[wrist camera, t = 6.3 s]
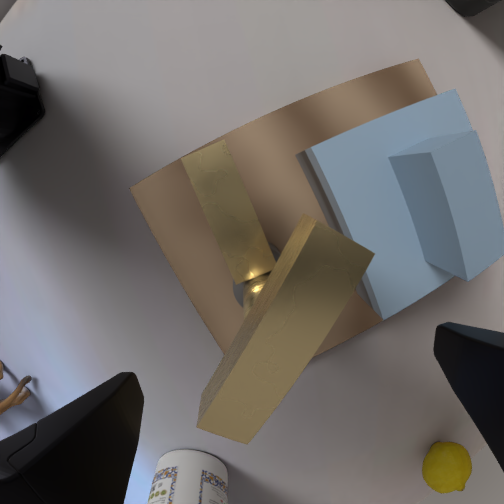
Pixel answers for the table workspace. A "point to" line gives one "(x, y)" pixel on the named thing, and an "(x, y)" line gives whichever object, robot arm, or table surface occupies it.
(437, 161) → the lid
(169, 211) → the latch base
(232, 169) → the quarter turn key
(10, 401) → the lion figurine
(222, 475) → the bath foam
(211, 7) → the table surface
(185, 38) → the table surface
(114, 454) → the robot arm
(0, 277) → the table surface
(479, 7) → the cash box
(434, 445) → the fruit
